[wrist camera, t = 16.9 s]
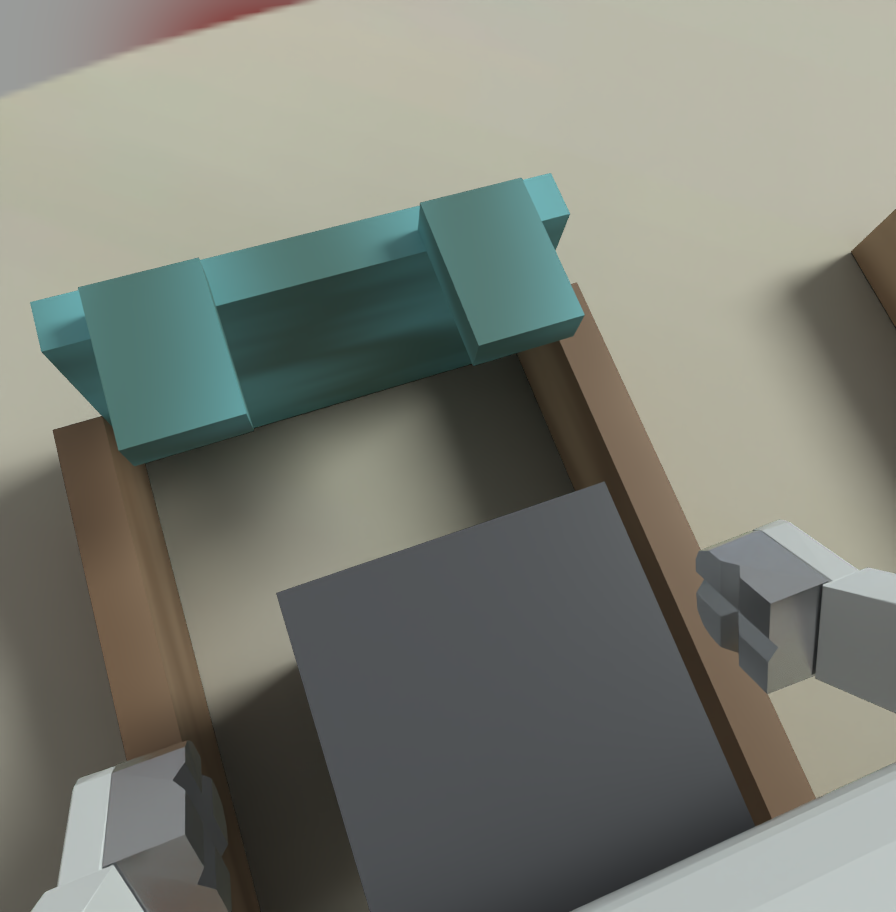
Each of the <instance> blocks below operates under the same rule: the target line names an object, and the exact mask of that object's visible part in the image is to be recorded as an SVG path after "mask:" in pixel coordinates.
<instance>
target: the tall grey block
mask: <svg viewBox="0 0 896 912" xmlns="http://www.w3.org/2000/svg"><path fill="white" fill-rule="evenodd" d="M276 594H277V598H278V601H279V604H280V608H281V611H282V615H283V618H284V621H285V625H286V628H287V632H288V635H289V638H290V642H291V645H292V649H293V652H294V655H295V659H296V662H297V666H298V669H299V672H300V676H301V679H302V682H303V686H304V689H305V693H306V696H307V699H308V703H309V706H310V710H311V713H312V716H313V720H314V723H315V727H316V730H317V733H318V737H319V740H320V744H321V747H322V750H323V754H324V757H325V761H326V764H327V767H328V771H329V774H330V778H331V781H332V784H333V788H334V791H335V795H336V798H337V801H338V805H339V808H340V812H341V815H342V818H343V822H344V825H345V829H346V832H347V835H348V839H349V842H350V846H351V849H352V852H353V856H354V859H355V863H356V866H357V869H358V873H359V876H360V880H361V883H362V886H363V890H364V893H365V897H366V900H367V903H368V907H369V910H370V912H570V911H572V910H575V909H577V908H579V907H581V906H583V905H586V904H588V903H590V902H592V901H594V900H596V899H599V898H601V897H603V896H605V895H607V894H610V893H612V892H614V891H616V890H618V889H621V888H623V887H625V886H627V885H629V884H631V883H634V882H636V881H638V880H640V879H642V878H645V877H647V876H649V875H651V874H653V873H656V872H658V871H660V870H662V869H664V868H666V867H669V866H671V865H673V864H675V863H677V862H679V861H682V860H684V859H686V858H688V857H690V856H693V855H695V854H697V853H699V852H701V851H703V850H706V849H708V848H710V847H712V846H714V845H716V844H719V843H721V842H723V841H725V840H727V839H729V838H732V837H734V836H736V835H738V834H740V833H742V832H745V831H747V830H749V829H751V828H753V827H755V824H754V822H753V820H752V818H751V815H750V813H749V811H748V808H747V806H746V804H745V802H744V799H743V797H742V795H741V792H740V790H739V788H738V786H737V783H736V781H735V779H734V776H733V774H732V772H731V770H730V767H729V765H728V763H727V760H726V758H725V756H724V753H723V751H722V749H721V747H720V744H719V742H718V740H717V737H716V735H715V733H714V731H713V728H712V726H711V724H710V721H709V719H708V717H707V715H706V712H705V710H704V708H703V705H702V703H701V701H700V699H699V696H698V694H697V692H696V689H695V687H694V685H693V683H692V680H691V678H690V676H689V673H688V671H687V669H686V667H685V664H684V662H683V660H682V657H681V655H680V653H679V651H678V648H677V646H676V644H675V641H674V639H673V637H672V635H671V632H670V630H669V628H668V625H667V623H666V621H665V619H664V616H663V614H662V612H661V609H660V607H659V605H658V603H657V600H656V598H655V596H654V593H653V591H652V589H651V587H650V584H649V582H648V580H647V577H646V575H645V573H644V570H643V568H642V566H641V564H640V561H639V559H638V557H637V554H636V552H635V550H634V548H633V545H632V543H631V541H630V538H629V536H628V534H627V532H626V529H625V527H624V525H623V522H622V520H621V518H620V516H619V513H618V511H617V509H616V506H615V504H614V502H613V500H612V497H611V495H610V493H609V490H608V488H607V486H606V484H605V481H604V482H601V483H598V484H595V485H593V486H590V487H587V488H584V489H581V490H578V491H575V492H572V493H569V494H566V495H563V496H560V497H557V498H554V499H551V500H548V501H545V502H542V503H540V504H537V505H534V506H531V507H528V508H525V509H522V510H519V511H516V512H513V513H510V514H507V515H504V516H501V517H498V518H495V519H492V520H490V521H487V522H484V523H481V524H478V525H475V526H472V527H469V528H466V529H463V530H460V531H457V532H454V533H451V534H448V535H445V536H442V537H440V538H437V539H434V540H431V541H428V542H425V543H422V544H419V545H416V546H413V547H410V548H407V549H404V550H401V551H398V552H395V553H392V554H390V555H387V556H384V557H381V558H378V559H375V560H372V561H369V562H366V563H363V564H360V565H357V566H354V567H351V568H348V569H345V570H342V571H340V572H337V573H334V574H331V575H328V576H325V577H322V578H319V579H316V580H313V581H310V582H307V583H304V584H301V585H298V586H295V587H292V588H290V589H287V590H284V591H281V592H278V593H276Z"/></svg>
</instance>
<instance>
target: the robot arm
mask: <svg viewBox="0 0 896 912" xmlns="http://www.w3.org/2000/svg"><path fill="white" fill-rule="evenodd" d="M696 572H697V573H698V574H699V575H700V576H701V577H702V578H703V579H704V580H703V582H702V584H701V585H700V587H699V589H698V591H697V592H696V597H697V610H698V612H699V615H700V618H701V620H702V623H703V625H704V627H705V628H706V630H707V632H708V633H709V635H710V636H711V637H712V638H713V639H714V640H715V642H716V643H717V644H718V645H719V646H720V647H722V648H725V649H728V650H731V651H734V652H737V653H738V657H739V666H740V667H741V668H742V669H743V670H744V671H745V672H746V673H747V674H748V675H749V676H750V677H751V678H752V679H753V680H754V681H755V682H756V683H757V684H758V685H759V686H760V687H761V688H762V689H763V690H764V691H765V692H766V693H767V694H769V693H771V692H774V691H777V690H779V689H782V688H784V687H787V686H790V685H792V684H795V683H797V682H800V681H802V680H805V679H808V678H810V677H813V676H815V679H818V680H820V681H822V682H824V683H827V684H829V685H831V686H834V687H836V688H838V689H841V690H843V691H845V692H848V693H850V694H852V695H855V696H857V697H859V698H861V699H864V700H866V701H868V702H871V703H873V704H875V705H878V706H880V707H882V708H885V709H887V710H889V711H892V712H894V713H896V574H895V573H891V572H886V571H882V570H877V569H873V568H868V567H867V568H864V569H862V570H858V569H857V568H855V567H854V566H852V565H851V564H850V563H848V562H847V561H845V560H844V559H842V558H841V557H839V556H838V555H837V554H835V553H834V552H832V551H831V550H829V549H828V548H826V547H825V546H824V545H822V544H821V543H819V542H818V541H816V540H815V539H813V538H812V537H811V536H809V535H808V534H806V533H805V532H803V531H802V530H800V529H799V528H798V527H796V526H795V525H793V524H792V523H790V522H788V521H785V520H781V519H779V520H777V521H774V522H771V523H769V524H766V525H764V526H761V527H759V528H756V529H753V530H752V531H750V532H746V533H744V534H741V535H739V536H736V537H733V538H731V539H728V540H725V541H723V542H720V543H718V544H715V545H712V546H710V547H707V548H704V549H702V550H699V552H698V554H697V557H696ZM227 846H228V836H227V825H226V820H225V815H224V810H223V806H222V802H221V800H220V797H219V794H218V791H217V789H216V787H215V785H214V782H213V780H212V778H209V777H207V776H204V775H202V774H201V757H200V755H199V753H198V751H197V749H196V748H195V746H194V744H193V742H192V741H188V740H186V741H184V742H181V743H178V744H175V745H172V746H169V747H166V748H163V749H160V750H157V751H155V752H152V753H149V754H146V755H143V756H140V757H137V758H134V759H131V760H129V761H126V762H123V763H120V764H117V765H116V766H114V767H111V768H108V769H105V770H102V771H99V772H96V773H93V774H90V775H87V776H84V777H81V778H79V779H78V781H77V783H76V784H75V786H74V788H73V790H72V796H71V802H70V809H69V815H68V821H67V827H66V833H65V839H64V846H63V852H62V858H61V864H60V870H59V877H58V883H57V887H56V888H53V889H51V890H48V891H46V892H45V893H44V894H43V895H42V897H41V898H40V900H39V901H38V902H37V904H36V905H35V906H34V908H33V909H32V911H31V912H232V901H231V883H230V873H229V871H228V869H227V867H226V865H225V863H224V861H223V859H222V855H223V853H224V851H225V849H226V848H227ZM570 912H896V762H895V763H892V764H890V765H888V766H886V767H884V768H882V769H879V770H877V771H875V772H873V773H871V774H868V775H866V776H864V777H862V778H860V779H858V780H855V781H853V782H851V783H849V784H847V785H844V786H842V787H840V788H838V789H836V790H834V791H831V792H829V793H827V794H825V795H823V796H821V797H818V798H816V799H814V800H812V801H810V802H808V803H805V804H803V805H801V806H799V807H797V808H795V809H792V810H790V811H788V812H786V813H784V814H782V815H779V816H777V817H775V818H773V819H771V820H768V821H766V822H764V823H762V824H760V825H758V826H755V827H753V828H751V829H749V830H747V831H745V832H742V833H740V834H738V835H736V836H734V837H732V838H729V839H727V840H725V841H723V842H721V843H719V844H716V845H714V846H712V847H710V848H708V849H706V850H703V851H701V852H699V853H697V854H695V855H693V856H690V857H688V858H686V859H684V860H682V861H679V862H677V863H675V864H673V865H671V866H669V867H666V868H664V869H662V870H660V871H658V872H656V873H653V874H651V875H649V876H647V877H645V878H642V879H640V880H638V881H636V882H634V883H631V884H629V885H627V886H625V887H623V888H621V889H618V890H616V891H614V892H612V893H610V894H607V895H605V896H603V897H601V898H599V899H596V900H594V901H592V902H590V903H588V904H586V905H583V906H581V907H579V908H577V909H575V910H572V911H570Z"/></svg>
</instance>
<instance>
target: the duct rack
mask: <svg viewBox="0 0 896 912" xmlns="http://www.w3.org/2000/svg"><path fill="white" fill-rule="evenodd" d="M569 215H570V212H569V210H568V208H567V206H566V204H565V202H564V200H563V198H562V196H561V194H560V191H559V189H558V187H557V185H556V183H555V181H554V179H553V177H552V175H551V173H549V174H545V175H541V176H537V177H533V178H529V179H525V180H523V179H522V178H518V179H514V180H510V181H506V182H502V183H498V184H494V185H490V186H486V187H482V188H478V189H474V190H470V191H466V192H462V193H458V194H453V195H449V196H445V197H441V198H437V199H433V200H429V201H425V202H421V203H420V206H416V207H412V208H408V209H404V210H400V211H396V212H392V213H388V214H384V215H380V216H376V217H372V218H368V219H364V220H360V221H356V222H352V223H347V224H343V225H339V226H335V227H331V228H327V229H323V230H319V231H315V232H311V233H307V234H303V235H299V236H295V237H291V238H287V239H283V240H279V241H275V242H271V243H267V244H263V245H259V246H255V247H251V248H247V249H243V250H239V251H235V252H231V253H227V254H223V255H219V256H215V257H211V258H207V259H203V260H200V259H199V258H195V259H191V260H187V261H183V262H179V263H175V264H171V265H167V266H163V267H159V268H155V269H151V270H146V271H142V272H138V273H134V274H130V275H126V276H122V277H118V278H114V279H110V280H106V281H102V282H98V283H94V284H90V285H86V286H82V287H78V291H74V292H70V293H66V294H62V295H58V296H54V297H49V298H45V299H41V300H37V301H33V302H30V304H31V308H32V313H33V317H34V321H35V326H36V330H37V335H38V339H39V343H40V348H41V352H42V353H43V354H44V355H45V356H46V357H47V358H48V359H49V360H50V361H51V362H52V363H53V365H54V366H55V367H56V368H57V369H58V370H59V371H60V372H61V373H62V374H63V375H64V376H65V377H66V378H67V379H68V380H69V381H70V383H71V384H72V385H73V386H74V387H75V388H76V389H77V390H78V391H79V392H80V393H81V394H82V395H83V396H84V397H85V398H86V399H87V401H88V402H89V403H90V404H91V405H92V406H93V407H94V408H95V409H96V410H97V411H98V412H99V413H100V414H101V415H102V416H101V417H97V418H93V419H90V420H86V421H83V422H79V423H76V424H72V425H69V426H65V427H61V428H58V429H54V430H53V434H54V439H55V443H56V447H57V452H58V456H59V461H60V465H61V470H62V474H63V479H64V483H65V488H66V492H67V497H68V501H69V505H70V510H71V514H72V519H73V523H74V528H75V532H76V537H77V541H78V546H79V550H80V554H81V559H82V563H83V568H84V572H85V577H86V581H87V586H88V590H89V595H90V599H91V604H92V608H93V612H94V617H95V621H96V626H97V630H98V635H99V639H100V644H101V648H102V653H103V657H104V661H105V666H106V670H107V675H108V679H109V684H110V688H111V693H112V697H113V702H114V706H115V711H116V715H117V719H118V724H119V728H120V733H121V737H122V742H123V746H124V751H125V755H126V760H127V761H129V760H131V759H134V758H137V757H140V756H143V755H146V754H149V753H152V752H155V751H157V750H160V749H163V748H166V747H169V746H172V745H175V744H178V743H181V742H184V741H186V740H188V741H192V742H193V744H194V746H195V748H196V749H197V751H198V753H199V755H200V757H201V774H202V775H204V776H207V777H209V778H212V780H213V782H214V785H215V787H216V789H217V791H218V794H219V797H220V800H221V802H222V806H223V810H224V815H225V820H226V825H227V836H228V846H227V848H226V849H225V851H224V853H223V855H222V859H223V861H224V863H225V865H226V867H227V869H228V871H229V873H230V883H231V901H232V912H261V911H260V907H259V903H258V899H257V896H256V892H255V888H254V884H253V880H252V876H251V872H250V868H249V865H248V861H247V857H246V853H245V849H244V845H243V841H242V837H241V834H240V830H239V826H238V822H237V818H236V814H235V810H234V806H233V803H232V799H231V795H230V791H229V787H228V783H227V779H226V775H225V772H224V768H223V764H222V760H221V756H220V752H219V748H218V744H217V741H216V737H215V733H214V729H213V725H212V721H211V717H210V713H209V710H208V706H207V702H206V698H205V694H204V690H203V686H202V682H201V679H200V675H199V671H198V667H197V663H196V659H195V655H194V651H193V648H192V644H191V640H190V636H189V632H188V628H187V624H186V620H185V617H184V613H183V609H182V605H181V601H180V597H179V593H178V589H177V586H176V582H175V578H174V574H173V570H172V566H171V562H170V558H169V555H168V551H167V547H166V543H165V539H164V535H163V531H162V527H161V524H160V520H159V516H158V512H157V508H156V504H155V500H154V496H153V493H152V489H151V485H150V481H149V477H148V473H147V469H146V465H145V463H148V462H151V461H154V460H158V459H161V458H164V457H168V456H171V455H175V454H178V453H181V452H185V451H188V450H191V449H195V448H198V447H202V446H205V445H208V444H212V443H215V442H218V441H222V440H225V439H229V438H232V437H235V436H239V435H242V434H245V433H249V432H252V431H254V429H253V428H256V427H259V426H263V425H266V424H269V423H273V422H276V421H280V420H283V419H286V418H290V417H293V416H297V415H300V414H303V413H307V412H310V411H313V410H317V409H320V408H324V407H327V406H330V405H334V404H337V403H341V402H344V401H347V400H351V399H354V398H357V397H361V396H364V395H368V394H371V393H374V392H378V391H381V390H385V389H388V388H391V387H395V386H398V385H401V384H405V383H408V382H412V381H415V380H418V379H422V378H425V377H428V376H432V375H435V374H439V373H442V372H445V371H449V370H452V369H456V368H459V367H462V366H466V365H469V364H472V365H473V366H475V365H478V364H482V363H485V362H488V361H492V360H495V359H498V358H502V357H505V356H509V355H512V354H515V353H517V355H518V357H519V360H520V362H521V364H522V367H523V369H524V372H525V374H526V376H527V379H528V381H529V383H530V386H531V388H532V390H533V393H534V395H535V397H536V400H537V402H538V404H539V407H540V409H541V412H542V414H543V416H544V419H545V421H546V423H547V426H548V428H549V430H550V433H551V435H552V437H553V440H554V442H555V445H556V447H557V449H558V452H559V454H560V456H561V459H562V461H563V463H564V466H565V468H566V470H567V473H568V475H569V477H570V480H571V482H572V485H573V487H574V489H575V491H578V490H581V489H584V488H587V487H590V486H593V485H595V484H598V483H601V482H604V481H605V484H606V486H607V488H608V490H609V493H610V495H611V497H612V500H613V502H614V504H615V506H616V509H617V511H618V513H619V516H620V518H621V520H622V522H623V525H624V527H625V529H626V532H627V534H628V536H629V538H630V541H631V543H632V545H633V548H634V550H635V552H636V554H637V557H638V559H639V561H640V564H641V566H642V568H643V570H644V573H645V575H646V577H647V580H648V582H649V584H650V587H651V589H652V591H653V593H654V596H655V598H656V600H657V603H658V605H659V607H660V609H661V612H662V614H663V616H664V619H665V621H666V623H667V625H668V628H669V630H670V632H671V635H672V637H673V639H674V641H675V644H676V646H677V648H678V651H679V653H680V655H681V657H682V660H683V662H684V664H685V667H686V669H687V671H688V673H689V676H690V678H691V680H692V683H693V685H694V687H695V689H696V692H697V694H698V696H699V699H700V701H701V703H702V705H703V708H704V710H705V712H706V715H707V717H708V719H709V721H710V724H711V726H712V728H713V731H714V733H715V735H716V737H717V740H718V742H719V744H720V747H721V749H722V751H723V753H724V756H725V758H726V760H727V763H728V765H729V767H730V770H731V772H732V774H733V776H734V779H735V781H736V783H737V786H738V788H739V790H740V792H741V795H742V797H743V799H744V802H745V804H746V806H747V808H748V811H749V813H750V815H751V818H752V820H753V822H754V824H755V826H758V825H760V824H762V823H764V822H766V821H768V820H771V819H773V818H775V817H777V816H779V815H782V814H784V813H786V812H788V811H790V810H792V809H795V808H797V807H799V806H801V805H803V804H805V803H808V802H810V801H812V800H814V799H816V797H815V795H814V793H813V791H812V789H811V787H810V785H809V782H808V780H807V778H806V776H805V774H804V772H803V769H802V767H801V765H800V763H799V761H798V759H797V756H796V754H795V752H794V750H793V748H792V746H791V744H790V741H789V739H788V737H787V735H786V733H785V731H784V728H783V726H782V724H781V722H780V720H779V718H778V715H777V713H776V711H775V709H774V707H773V705H772V703H771V700H770V698H769V696H768V694H767V693H766V692H765V691H764V690H763V689H762V688H761V687H760V686H759V685H758V684H757V683H756V682H755V681H754V680H753V679H752V678H751V677H750V676H749V675H748V674H747V673H746V672H745V671H744V670H743V669H742V668H741V667H740V666H739V657H738V653H737V652H734V651H731V650H728V649H725V648H722V647H720V646H719V645H718V644H717V643H716V642H715V640H714V639H713V638H712V637H711V636H710V635H709V633H708V632H707V630H706V628H705V627H704V625H703V623H702V620H701V618H700V615H699V612H698V610H697V597H696V592H697V591H698V589H699V587H700V585H701V584H702V582H703V580H704V579H703V578H702V577H701V576H700V575H699V574H698V573H697V572H696V557H697V554H698V552H699V550H701V549H700V547H699V545H698V543H697V541H696V539H695V536H694V534H693V532H692V530H691V528H690V526H689V523H688V521H687V519H686V517H685V515H684V513H683V510H682V508H681V506H680V504H679V502H678V500H677V497H676V495H675V493H674V491H673V489H672V487H671V485H670V482H669V480H668V478H667V476H666V474H665V472H664V469H663V467H662V465H661V463H660V461H659V459H658V456H657V454H656V452H655V450H654V448H653V446H652V444H651V441H650V439H649V437H648V435H647V433H646V431H645V428H644V426H643V424H642V422H641V420H640V418H639V415H638V413H637V411H636V409H635V407H634V405H633V403H632V400H631V398H630V396H629V394H628V392H627V390H626V387H625V385H624V383H623V381H622V379H621V377H620V374H619V372H618V370H617V368H616V366H615V364H614V362H613V359H612V357H611V355H610V353H609V351H608V349H607V346H606V344H605V342H604V340H603V338H602V336H601V333H600V331H599V329H598V327H597V325H596V323H595V321H594V318H593V316H592V314H591V312H590V310H589V308H588V305H587V303H586V301H585V299H584V297H583V295H582V292H581V290H580V288H579V286H578V284H577V283H573V284H570V282H569V279H568V277H567V275H566V273H565V271H564V269H563V266H562V264H561V262H560V260H559V258H558V256H557V253H556V251H555V250H556V248H557V245H558V243H559V240H560V238H561V235H562V233H563V230H564V228H565V225H566V223H567V220H568V218H569ZM851 252H852V254H853V256H854V257H855V259H856V261H857V263H858V264H859V266H860V268H861V269H862V271H863V273H864V274H865V276H866V278H867V280H868V281H869V283H870V285H871V286H872V288H873V290H874V291H875V293H876V295H877V297H878V298H879V300H880V302H881V303H882V305H883V307H884V308H885V310H886V312H887V314H888V315H889V317H890V319H891V320H892V322H893V324H894V325H895V327H896V209H895V210H894V211H893V212H892V213H891V214H890V215H889V216H888V217H887V218H886V219H885V220H884V221H883V222H882V223H881V224H879V225H878V226H877V227H876V228H875V229H874V230H873V231H872V232H871V233H870V234H869V235H868V236H867V237H866V238H865V239H864V240H863V241H862V242H861V243H860V244H858V245H857V246H856V247H855V248H854V249H853V250H852V251H851Z"/></svg>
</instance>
